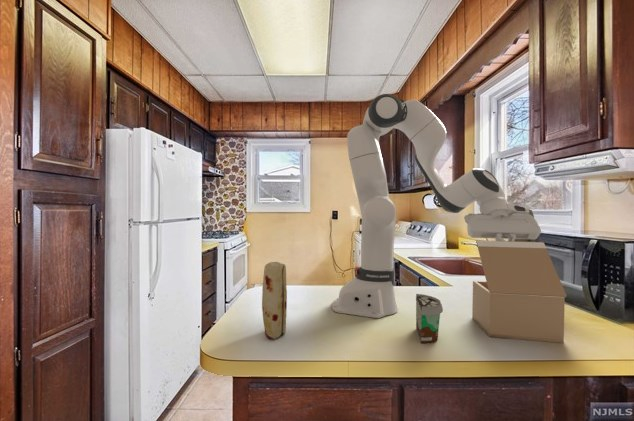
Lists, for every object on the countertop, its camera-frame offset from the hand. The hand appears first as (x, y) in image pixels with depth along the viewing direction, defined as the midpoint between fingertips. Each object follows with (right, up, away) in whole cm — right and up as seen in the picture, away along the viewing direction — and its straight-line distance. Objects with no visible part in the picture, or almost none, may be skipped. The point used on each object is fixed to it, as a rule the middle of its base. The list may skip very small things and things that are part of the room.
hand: (509, 247), depth 90 cm
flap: (-1, -5, -5) cm, 7 cm away
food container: (-27, -24, -9) cm, 37 cm away
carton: (-1, -23, -3) cm, 24 cm away
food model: (-70, -23, -8) cm, 74 cm away
